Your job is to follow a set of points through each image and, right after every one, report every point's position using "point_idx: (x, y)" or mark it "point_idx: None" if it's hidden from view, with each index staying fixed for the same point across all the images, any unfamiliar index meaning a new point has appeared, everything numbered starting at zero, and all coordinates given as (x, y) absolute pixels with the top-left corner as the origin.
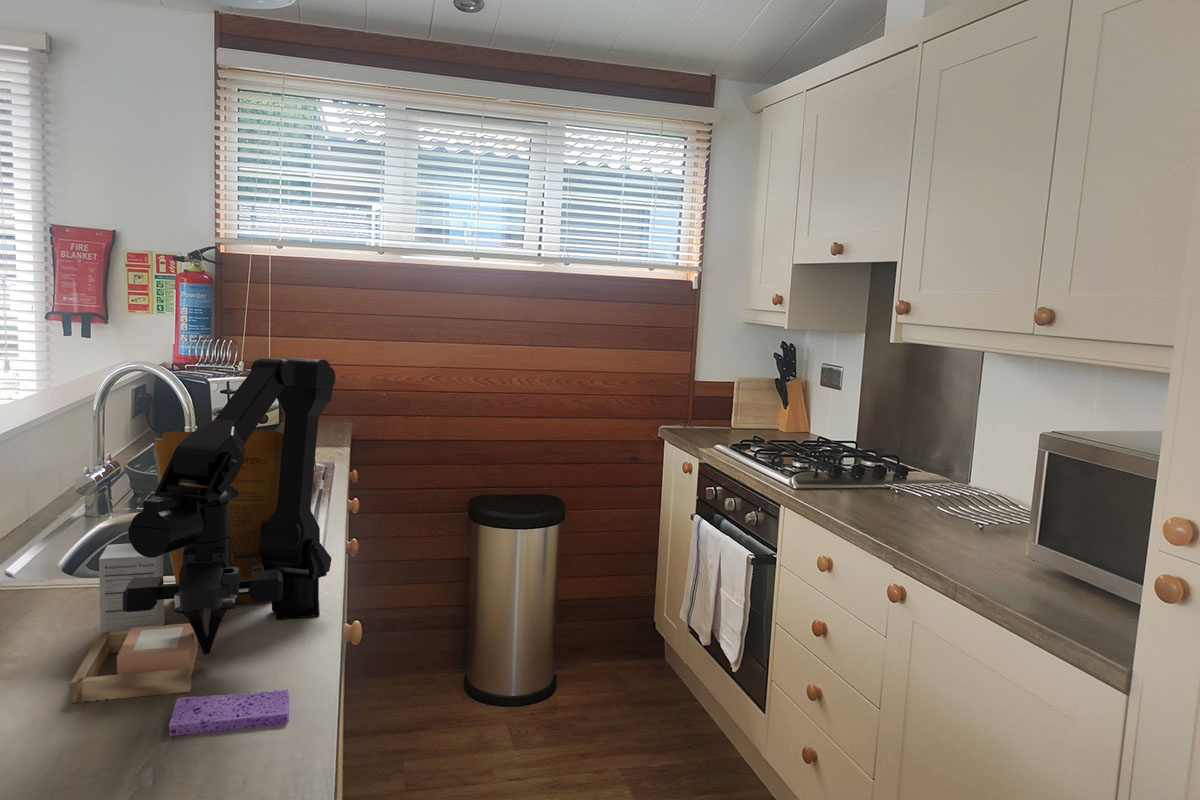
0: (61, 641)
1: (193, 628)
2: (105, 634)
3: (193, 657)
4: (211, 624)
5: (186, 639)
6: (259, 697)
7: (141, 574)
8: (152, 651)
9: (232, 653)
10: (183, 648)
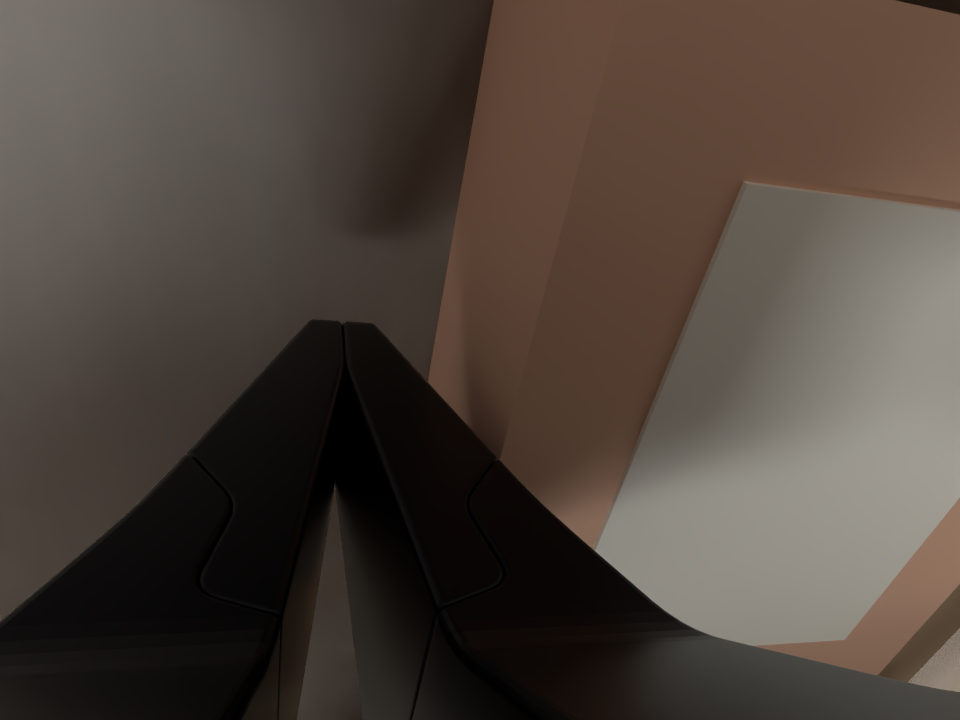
0: (912, 683)
1: (534, 499)
2: (894, 670)
3: (452, 338)
4: (256, 531)
5: (578, 400)
6: None
7: None
8: None
9: (149, 442)
10: (685, 88)
